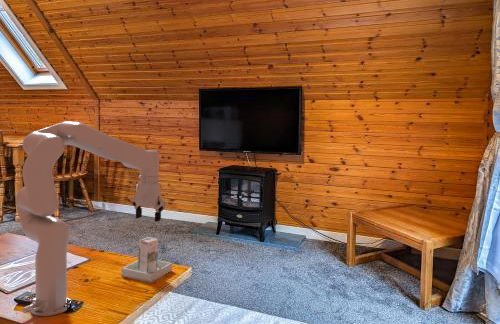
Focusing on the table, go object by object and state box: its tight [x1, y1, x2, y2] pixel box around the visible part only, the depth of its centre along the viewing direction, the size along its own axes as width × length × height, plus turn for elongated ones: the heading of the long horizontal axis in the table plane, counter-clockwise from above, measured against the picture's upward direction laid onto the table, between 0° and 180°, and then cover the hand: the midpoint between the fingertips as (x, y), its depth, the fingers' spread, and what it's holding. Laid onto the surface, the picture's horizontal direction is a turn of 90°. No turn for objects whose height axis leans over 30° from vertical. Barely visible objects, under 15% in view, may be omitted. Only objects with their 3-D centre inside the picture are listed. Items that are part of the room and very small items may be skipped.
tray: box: [121, 259, 173, 284], centre depth 167 cm, size 15×15×4 cm
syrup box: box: [138, 236, 159, 274], centre depth 166 cm, size 6×6×14 cm
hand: (148, 219), depth 164 cm, fingers open, 9 cm apart
